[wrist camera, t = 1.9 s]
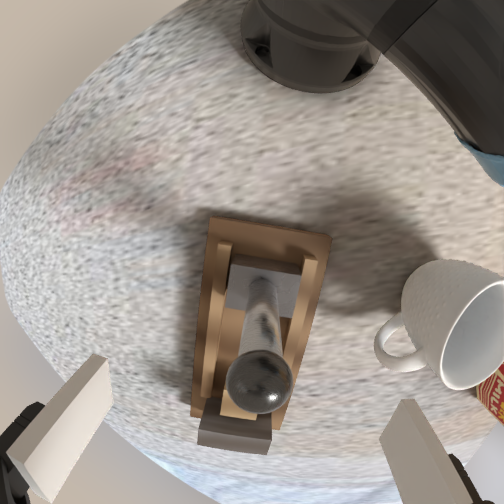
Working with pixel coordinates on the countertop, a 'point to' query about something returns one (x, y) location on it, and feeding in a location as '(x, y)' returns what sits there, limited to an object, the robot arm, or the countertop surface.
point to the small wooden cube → (234, 408)
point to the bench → (231, 321)
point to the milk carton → (493, 394)
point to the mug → (450, 323)
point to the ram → (261, 331)
